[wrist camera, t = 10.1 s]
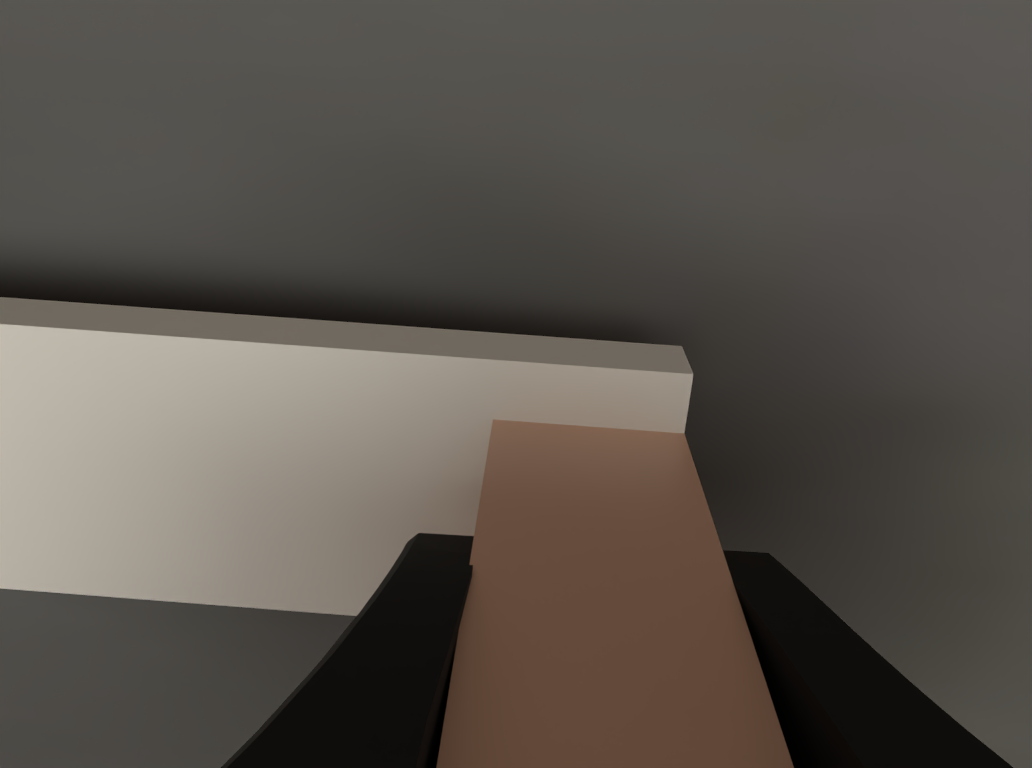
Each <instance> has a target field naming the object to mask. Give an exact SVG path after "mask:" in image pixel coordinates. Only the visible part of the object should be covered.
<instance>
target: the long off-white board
mask: <svg viewBox="0 0 1032 768" xmlns="http://www.w3.org/2000/svg"><path fill="white" fill-rule="evenodd" d="M692 381H693V372H692V369H691V367H690V365H689V362H688V360H687V357H686V355H685V353H684V350H683V348H682V346H673V345H659V344H646V343H632V342H618V341H604V340H590V339H576V338H562V337H548V336H535V335H521V334H507V333H493V332H479V331H465V330H451V329H437V328H423V327H410V326H396V325H382V324H368V323H354V322H340V321H326V320H312V319H298V318H285V317H271V316H257V315H243V314H229V313H215V312H201V311H187V310H174V309H160V308H146V307H132V306H118V305H104V304H90V303H76V302H62V301H49V300H35V299H21V298H7V297H0V588H2V589H15V590H28V591H41V592H54V593H67V594H80V595H93V596H105V597H118V598H131V599H144V600H157V601H170V602H183V603H195V604H208V605H221V606H234V607H247V608H260V609H273V610H286V611H298V612H311V613H324V614H337V615H350V616H357V615H358V614H359V613H360V611H361V610H362V609H363V607H364V606H365V604H366V603H367V602H368V600H369V599H370V598H371V596H372V595H373V594H374V592H375V591H376V589H377V588H378V587H379V585H380V584H381V582H382V581H383V580H384V578H385V577H386V575H387V574H388V572H389V571H390V569H391V568H392V566H393V565H394V563H395V562H396V560H397V559H398V557H399V555H400V554H401V552H402V550H403V549H404V547H405V545H406V543H407V542H408V541H409V540H410V539H411V538H413V537H414V536H415V535H417V534H418V533H430V534H448V535H465V536H474V539H473V545H472V551H471V557H470V564H469V565H473V571H472V578H471V582H470V586H469V590H468V594H467V598H466V602H465V606H464V611H463V615H462V619H461V623H460V627H459V632H458V638H457V644H456V650H455V656H454V662H453V669H452V675H451V681H450V687H449V693H448V699H447V706H446V712H445V718H444V724H443V730H442V736H441V743H440V749H439V755H438V761H437V767H436V768H794V766H793V763H792V760H791V757H790V754H789V751H788V748H787V745H786V742H785V739H784V736H783V733H782V730H781V727H780V724H779V721H778V718H777V715H776V711H775V708H774V705H773V702H772V699H771V696H770V693H769V690H768V687H767V684H766V681H765V678H764V675H763V672H762V669H761V666H760V663H759V660H758V657H757V654H756V651H755V647H754V644H753V641H752V638H751V635H750V632H749V629H748V626H747V623H746V620H745V617H744V614H743V611H742V608H741V605H740V602H739V599H738V596H737V593H736V590H735V586H734V583H733V580H732V577H731V574H730V571H729V568H728V565H727V562H726V559H725V556H724V553H723V550H722V547H721V544H720V541H719V538H718V535H717V532H716V529H715V526H714V522H713V519H712V516H711V513H710V510H709V507H708V504H707V501H706V498H705V495H704V492H703V489H702V486H701V483H700V480H699V477H698V474H697V471H696V468H695V465H694V461H693V458H692V455H691V452H690V449H689V446H688V443H687V440H686V437H685V434H684V432H685V426H686V419H687V413H688V407H689V400H690V394H691V387H692Z"/></svg>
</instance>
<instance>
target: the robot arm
mask: <svg viewBox="0 0 1032 768" xmlns="http://www.w3.org/2000/svg"><path fill="white" fill-rule="evenodd" d="M473 539H474V536H465V535H448V534H430V533H418V534H417V535H415V536H414V537H413V538H411V539H410V540H409V541H408V542H407V543H406V545H405V547H404V549H403V550H402V552H401V554H400V555H399V557H398V559H397V560H396V562H395V563H394V565H393V566H392V568H391V569H390V571H389V572H388V574H387V575H386V577H385V578H384V580H383V581H382V582H381V584H380V585H379V587H378V588H377V589H376V591H375V592H374V594H373V595H372V596H371V598H370V599H369V600H368V602H367V603H366V604H365V606H364V607H363V609H362V610H361V611H360V613H359V614H358V615H357V616H356V618H355V619H354V620H353V621H352V623H351V624H350V625H349V626H348V628H347V629H346V630H345V631H344V632H343V634H342V635H341V636H340V637H339V639H338V640H337V641H336V642H335V644H334V645H333V646H332V647H331V649H330V650H329V651H328V652H327V654H326V655H325V656H324V657H323V659H322V660H321V661H320V662H319V663H318V665H317V666H316V667H315V668H314V669H313V670H312V672H311V673H310V674H309V675H308V676H307V677H306V678H305V679H304V680H303V682H302V683H301V684H300V685H299V686H298V687H297V688H296V689H295V690H294V691H293V692H292V694H291V695H290V696H289V697H288V698H287V699H286V700H285V701H284V702H283V703H282V705H281V706H280V707H279V708H278V709H277V710H276V711H275V712H274V713H273V714H272V716H271V717H270V718H269V719H268V720H267V721H266V722H265V723H264V724H263V725H262V727H261V728H260V729H259V730H258V731H257V732H256V733H255V734H254V735H253V736H252V737H251V738H250V739H249V740H248V741H247V742H246V743H245V744H244V745H243V746H242V747H241V748H240V749H239V750H238V751H237V752H236V753H235V754H234V755H233V756H232V757H231V758H230V759H229V760H228V761H227V762H226V763H225V764H224V765H223V766H222V767H221V768H436V767H437V761H438V755H439V749H440V743H441V736H442V730H443V724H444V718H445V712H446V706H447V699H448V693H449V687H450V681H451V675H452V669H453V662H454V656H455V650H456V644H457V638H458V632H459V627H460V623H461V619H462V615H463V611H464V606H465V602H466V598H467V594H468V590H469V586H470V582H471V578H472V571H473V565H469V564H470V557H471V551H472V545H473ZM723 553H724V556H725V559H726V562H727V565H728V568H729V571H730V574H731V577H732V580H733V583H734V586H735V590H736V593H737V596H738V599H739V602H740V605H741V608H742V611H743V614H744V617H745V620H746V623H747V626H748V629H749V632H750V635H751V638H752V641H753V644H754V647H755V651H756V654H757V657H758V660H759V663H760V666H761V669H762V672H763V675H764V678H765V681H766V684H767V687H768V690H769V693H770V696H771V699H772V702H773V705H774V708H775V711H776V715H777V718H778V721H779V724H780V727H781V730H782V733H783V736H784V739H785V742H786V745H787V748H788V751H789V754H790V757H791V760H792V763H793V766H794V768H1013V767H1012V766H1011V765H1009V764H1008V763H1007V762H1006V761H1004V760H1003V759H1002V758H1001V757H999V756H998V755H997V754H996V753H995V752H993V751H992V750H991V749H990V748H988V747H987V746H986V745H985V744H983V743H982V742H981V741H980V740H978V739H977V738H976V737H975V736H973V735H972V734H971V733H970V732H969V731H967V730H966V729H965V728H964V727H962V726H961V725H960V724H959V723H958V722H956V721H955V720H954V719H953V718H952V717H951V716H949V715H948V714H947V713H946V712H945V711H944V710H942V709H941V708H940V707H939V706H938V705H936V704H935V703H934V702H933V701H932V700H931V699H929V698H928V697H927V696H926V695H925V694H924V693H923V692H921V691H920V690H919V689H918V688H917V687H916V686H915V685H913V684H912V683H911V682H910V681H909V680H908V679H907V678H905V677H904V676H903V675H902V674H901V673H900V672H899V671H898V670H896V669H895V668H894V667H893V666H892V665H891V664H890V663H889V662H887V661H886V660H885V659H884V658H883V657H882V656H881V655H880V654H879V653H877V652H876V651H875V650H874V649H873V648H872V647H871V646H870V645H869V644H868V643H867V642H865V641H864V640H863V639H862V638H861V637H860V636H859V635H858V634H857V633H856V632H855V631H853V630H852V629H851V628H850V627H849V626H848V625H847V624H846V623H845V622H844V621H843V620H842V619H840V618H839V617H838V616H837V615H836V614H835V613H834V612H833V611H832V610H831V609H830V608H829V607H828V606H826V605H825V604H824V603H823V602H822V601H821V600H820V599H819V598H818V597H817V596H816V595H815V594H814V593H813V592H811V591H810V590H809V589H808V588H807V587H806V586H805V585H804V584H803V583H802V582H801V581H800V580H798V579H797V578H796V577H795V576H794V575H793V574H792V573H791V572H790V571H789V570H787V569H786V568H785V567H784V566H783V565H782V564H781V563H780V562H778V561H777V560H776V559H775V558H774V557H772V556H771V555H770V554H769V553H758V552H741V551H724V550H723Z"/></svg>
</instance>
